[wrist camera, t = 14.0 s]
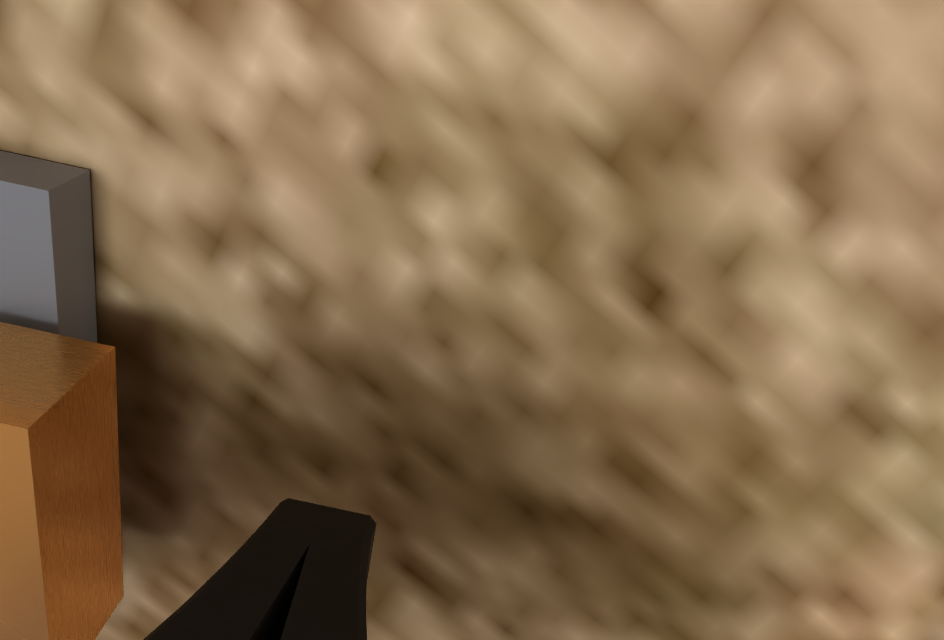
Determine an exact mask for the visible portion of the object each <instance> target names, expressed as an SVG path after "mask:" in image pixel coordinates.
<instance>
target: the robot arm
mask: <svg viewBox="0 0 944 640" xmlns="http://www.w3.org/2000/svg"><path fill="white" fill-rule="evenodd" d="M375 529H376V523H375V521H374V520H373V519H372V518H371V516H369V515H364V514H359V513H355V512H350V511H345V510H341V509H336V508H331V507H327V506H322V505H317V504H313V503H308V502H303V501H299V500H294V499H289V498H288V499H286V500H284V501H282V502H281V503H279V505H278V506H277V507H276V508H275V510H274V511H273V512H272V513H271V514H270V516H269V517H268V518H267V519H266V520H265V521H264V522H263V524H262V525H261V526H260V527H259V528H258V529H257V530H256V532H255V533H254V534H253V535H252V536H251V537H250V538H249V539H248V540H247V541H246V542H245V544H244V545H243V546H242V547H241V548H240V549H239V550H238V551H237V552H236V553H235V554H234V555H233V556H232V557H231V558H230V559H229V560H228V561H227V562H226V563H225V564H224V565H223V566H222V567H221V568H220V569H219V570H218V571H217V572H216V573H215V574H214V575H213V576H212V577H211V578H210V579H209V580H208V581H207V582H206V583H205V584H204V585H203V586H202V587H201V588H200V589H199V590H198V591H197V592H196V593H195V594H194V595H193V596H192V597H191V598H189V599H188V600H187V601H186V602H185V603H184V604H183V605H182V606H181V607H180V608H179V609H178V610H177V611H175V612H174V613H173V614H172V615H171V616H170V617H169V618H167V619H166V620H165V621H164V622H163V623H162V624H161V625H159V626H158V627H157V628H156V629H155V630H154V631H153V632H151V633H150V634H149V635H148V636H147V637H146V638H145V639H144V640H367V628H366V586H367V577H368V571H369V565H370V559H371V553H372V547H373V541H374V535H375Z"/></svg>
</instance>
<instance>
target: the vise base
mask: <svg viewBox="0 0 944 640" xmlns="http://www.w3.org/2000/svg"><path fill="white" fill-rule="evenodd" d="M0 322H3V323H8V324H13V325H17V326H22V327H26V328H31V329H36V330H40V331H45V332H49V333H54V334H58V335H63V336H68V337H72V338H77V339H81V340H86V341H91V342H95V343H97V321H96V299H95V277H94V255H93V233H92V211H91V189H90V170H88V169H83V168H79V167H74V166H69V165H65V164H60V163H56V162H51V161H46V160H42V159H37V158H33V157H28V156H23V155H19V154H14V153H10V152H5V151H0Z"/></svg>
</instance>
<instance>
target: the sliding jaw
mask: <svg viewBox="0 0 944 640" xmlns="http://www.w3.org/2000/svg"><path fill="white" fill-rule="evenodd" d="M122 597H123V571H122V540H121V510H120V480H119V450H118V419H117V389H116V359H115V347H114V346H109V345H104V344H100V343H95V342H91V341H86V340H81V339H77V338H72V337H68V336H63V335H58V334H54V333H49V332H45V331H40V330H36V329H31V328H26V327H22V326H17V325H13V324H8V323H3V322H0V640H95V638H96V637H97V635H98V634H99V632H100V631H101V629H102V628H103V626H104V625H105V623H106V622H107V620H108V618H109V617H110V615H111V614H112V612H113V611H114V609H115V608H116V606H117V605H118V603H119V602H120V600H121V599H122Z"/></svg>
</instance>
